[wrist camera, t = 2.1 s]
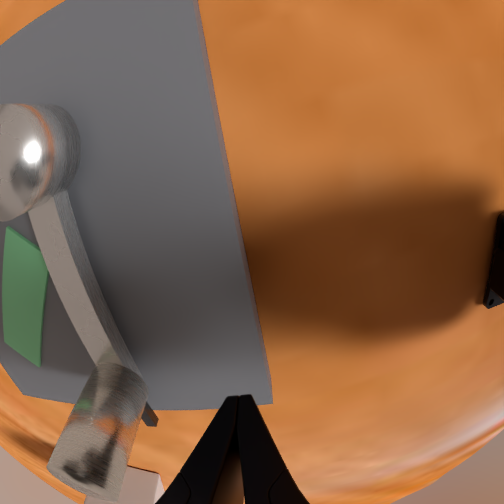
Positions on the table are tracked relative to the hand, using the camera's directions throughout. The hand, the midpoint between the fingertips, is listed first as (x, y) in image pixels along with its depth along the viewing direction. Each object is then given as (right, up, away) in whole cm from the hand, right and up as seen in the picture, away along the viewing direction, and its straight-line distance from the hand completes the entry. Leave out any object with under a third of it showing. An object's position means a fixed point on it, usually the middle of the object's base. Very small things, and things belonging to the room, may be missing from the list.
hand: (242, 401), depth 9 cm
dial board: (-10, +6, +4) cm, 12 cm away
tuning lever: (-7, +3, +3) cm, 8 cm away
